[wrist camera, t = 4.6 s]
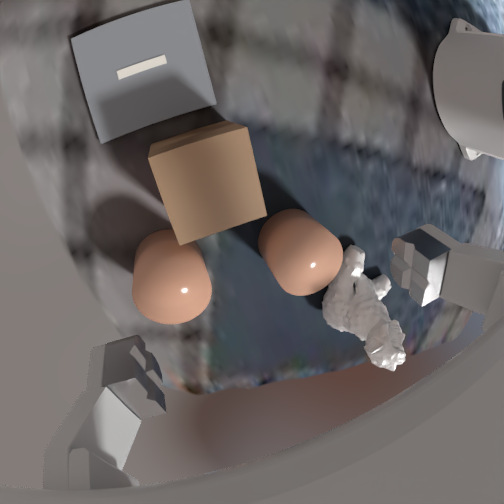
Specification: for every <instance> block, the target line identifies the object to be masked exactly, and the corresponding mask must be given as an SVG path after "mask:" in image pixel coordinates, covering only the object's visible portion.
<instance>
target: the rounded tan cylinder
mask: <svg viewBox="0 0 504 504" xmlns="http://www.w3.org/2000/svg"><path fill="white" fill-rule="evenodd" d="M258 249H259V252H260V254H261V256H262V258H263V259H264V261H265V262H266V264H267V265H268V267H269V268H270V270H271V272H272V273H273V275H274V276H275V278H276V279H277V281H278V282H279V284H280V285H281V287H282V288H283V289H284V290H285V291H286V292H288V293H290V294H293V295H298V296H303V295H309V294H313V293H315V292H317V291H319V290H321V289H323V288H324V287H326V286H327V285H328V284H329V283H330V282H331V281H332V280H333V279H334V278H335V276H336V275H337V273H338V271H339V270H340V267H341V265H342V261H343V249H342V245H341V243H340V242H339V240H338V239H337V238H336V237H335V236H334V235H333V234H332V233H330V232H329V231H328V230H327V229H326V228H325V227H323V226H322V225H321V224H320V223H319V222H318V221H316V220H315V219H314V218H313V217H312V216H310V215H309V214H308V213H307V212H305V211H303V210H300V209H286V210H282V211H280V212H278V213H276V214H274V215H273V216H272V217H270V218H269V219H268V220H267V221H266V223H265V224H264V225H263V227H262V229H261V231H260V233H259V237H258Z"/></svg>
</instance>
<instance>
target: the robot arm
mask: <svg viewBox="0 0 504 504" xmlns="http://www.w3.org/2000/svg"><path fill="white" fill-rule="evenodd" d="M433 88H434V96H435V101H436V106H437V109H438V113H439V116H440V118H441V121H442V123H443V125H444V127H445V128H446V130H447V132H448V133H449V134H450V135H451V136H452V137H453V138H454V139H455V140H456V141H457V142H458V144H459V146H460V149H461V151H462V154H463V156H464V157H465V158H466V159H469V160H474V159H475V158H477V157H478V156H480V155H481V154H487V155H490V156H493V157H496V158H499V159H502V160H504V35H502V34H495V33H486V32H482V31H480V30H479V29H477V28H476V27H474V26H472V25H471V24H469V23H468V22H466V21H464V20H463V19H460V18H453V19H452V21H451V25H450V30H449V33H448V35H447V36H446V37H445V38H444V40H443V41H442V42H441V44H440V45H439V47H438V50H437V52H436V56H435V60H434V67H433ZM392 251H393V253H394V254H395V255H394V257H393V259H392V261H391V272H392V275H393V278H394V280H395V281H396V283H397V284H398V285H399V286H400V287H402V288H406V289H409V295H410V296H411V297H412V298H413V299H414V300H415V301H416V302H418V303H419V304H420V305H421V306H424V305H426V304H427V303H429V302H431V301H433V300H435V299H436V298H438V297H440V298H442V299H445V300H447V301H450V302H452V303H455V304H457V305H460V306H462V307H465V308H467V309H470V310H472V311H475V312H477V313H480V314H482V315H485V318H484V321H483V323H482V330H483V331H484V333H483V334H482V335H480V336H479V337H478V338H477V339H476V340H475V341H473V342H472V343H471V344H470V345H468V346H467V347H466V348H465V349H463V350H462V351H461V352H459V353H458V354H457V355H455V356H454V357H453V358H451V359H450V360H449V361H448V362H446V363H445V364H443V365H442V366H441V367H439V368H438V369H436V370H435V371H433V372H432V373H431V374H429V375H428V376H426V377H425V378H423V379H422V380H420V381H419V382H417V383H416V384H414V385H413V386H411V387H409V388H408V389H406V390H404V391H403V392H401V393H400V394H398V395H396V396H395V397H393V398H391V399H390V400H388V401H386V402H384V403H383V404H381V405H379V406H377V407H375V408H374V409H372V410H370V411H368V412H366V413H364V414H362V415H360V416H359V417H357V418H355V419H353V420H351V421H349V422H347V423H345V424H343V425H341V426H339V427H336V428H334V429H332V430H330V431H328V432H326V433H323V434H321V435H319V436H317V437H314V438H312V439H310V440H307V441H305V442H302V443H300V444H297V445H295V446H292V447H290V448H287V449H285V450H282V451H279V452H276V453H273V454H271V455H267V456H265V457H262V458H259V459H256V460H252V461H249V462H246V463H243V464H239V465H236V466H233V467H229V468H226V469H222V470H218V471H214V472H210V473H206V474H202V475H197V476H193V477H188V478H183V479H178V480H172V481H167V482H161V483H154V484H147V485H140V486H139V481H138V480H137V479H136V478H134V477H132V476H130V475H128V474H127V473H125V472H123V471H122V469H123V466H124V464H125V461H126V458H127V456H128V453H129V451H130V448H131V446H132V443H133V441H134V438H135V436H136V433H137V431H138V428H139V426H140V423H141V419H145V418H149V417H153V416H156V415H160V414H163V413H166V406H165V399H164V394H163V392H162V391H161V390H160V389H159V388H160V386H161V384H162V382H163V381H162V374H161V371H160V367H159V365H158V363H157V361H156V359H155V357H154V356H153V354H152V353H150V352H148V351H146V350H145V342H144V341H143V340H142V338H141V337H140V336H139V335H134V336H131V337H127V338H124V339H120V340H117V341H113V342H110V343H107V344H104V345H100V346H97V347H93V349H92V350H91V353H90V361H89V369H88V378H87V387H86V391H85V392H82V393H81V394H80V396H79V397H78V399H77V400H76V402H75V403H74V405H73V406H72V408H71V409H70V411H69V412H68V414H67V416H66V417H65V419H64V420H63V422H62V423H61V425H60V426H59V428H58V429H57V431H56V433H55V434H54V436H53V437H52V439H51V441H50V442H49V444H48V445H47V447H46V449H45V453H44V470H43V489H34V488H23V487H13V486H6V485H0V504H504V251H501V250H497V249H492V248H487V247H483V246H478V245H473V244H468V243H463V244H461V243H459V242H458V241H456V240H455V239H453V238H452V237H450V236H449V235H447V234H445V233H444V232H442V231H441V230H439V229H438V228H436V227H434V226H433V225H431V224H425V225H423V226H421V227H419V228H417V229H416V230H413V231H411V232H409V233H406V234H404V235H402V236H400V237H397V238H395V239H394V240H393V242H392Z"/></svg>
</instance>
